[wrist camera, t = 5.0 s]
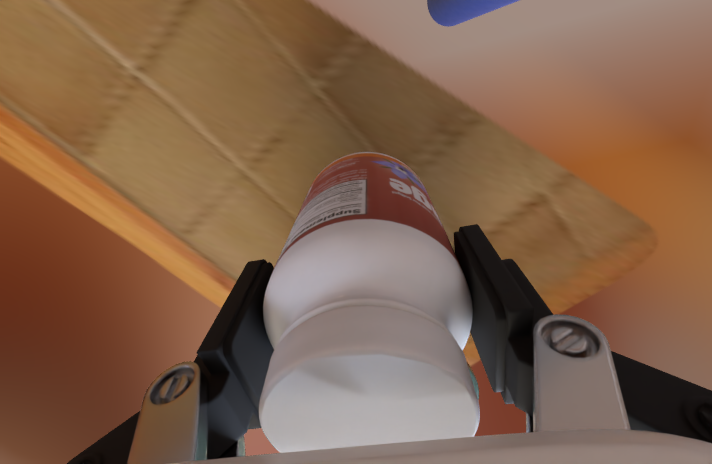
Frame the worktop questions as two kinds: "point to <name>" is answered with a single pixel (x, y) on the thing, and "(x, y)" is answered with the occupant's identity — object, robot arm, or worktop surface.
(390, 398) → the pill bottle
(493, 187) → the worktop surface
